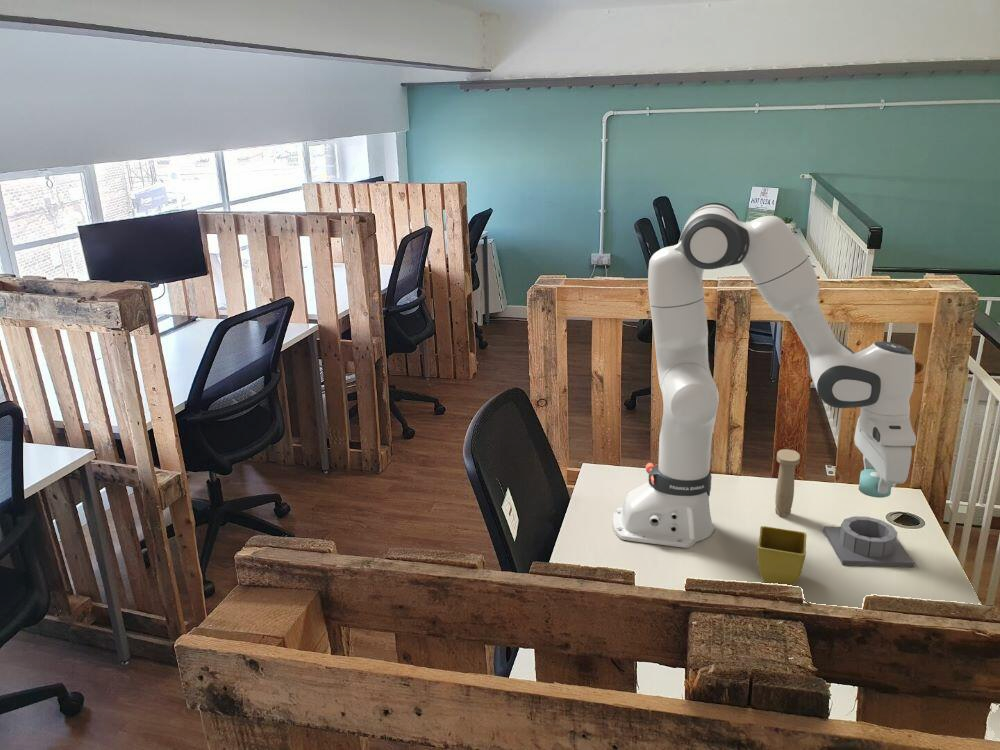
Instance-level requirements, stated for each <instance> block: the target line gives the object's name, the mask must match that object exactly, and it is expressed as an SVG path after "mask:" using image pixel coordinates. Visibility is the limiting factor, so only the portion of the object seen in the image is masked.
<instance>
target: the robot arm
mask: <svg viewBox="0 0 1000 750" xmlns="http://www.w3.org/2000/svg"><path fill="white" fill-rule="evenodd" d="M811 261H812V260H810V258H809V256H808V254H807V252H806V250H805V249H804V247H803V246H802V244H801V242H800V241H799V239H798V237H797V236H796V234H794V232H793V231H792V230H791V229H790V227H789V226H788V225H787V223H786V222H785V221H784V220H783V219H782V218H781V217H778V216H776V215H763V216H760V217H759V216H758V217H757V218H755V219H752V220H751V221H747V222H746V221H740V220H739V216H738V214H737V213H736V212H735V211H734V209H732V208H731V207H730V206H728V205H726V204H724V203H719V202H709V203H706V204H703V205H701V206H699V207H698V208H696V209H695V210H694V211H693V212H692V213H691V214H690V216H689V217H688V219H687V220H686V222H685V224H684V226H683V230H682V234H681V236H680V238H679V242H678V243H677V244H673V245H670V246H665V247H663V248H660V249H659V250H657V251H655V252H654V253H653V254H652V255H651V257H650V259H649V263H648V272H647V275H648V276H647V288H648V289H647V290H648V299H649V300H648V302H649V308H650V316H651V322H652V332H653V339H654V345H655V346H654V347H655V357H656V358H655V359H656V367H657V369H656V370H657V377H658V383H659V387H660V391H661V395H662V396H661V397H662V402H663V405H662V406H663V408H662V409H663V410H662V418H661V419H662V420H661V427H660V432H659V439H658V441H659V442H658V464H657V466H655V465H654V463H652V462H648V463H647V464H646V465H645V471H646V473H647V474H648V481H646V482H644V483H643V484H641V485H639V486H638V487H636V488H634V489H632V490H630V491H629V492H627V494H626V497H625V499H624V502H623V506H620V507H618V508H616V510H615V511H614V513H613V515H612V529H613V532H614V533H615V535H616V536H617V538H619V539H621V540H625V541H629V542H638V543H645V544H653V545H661V546H668V547H669V546H670V547H677V548H684V549H686V548H690V547H693V545H695V543H697V542H700V541H702V540H706V539H707V538H709V537H710V536H711V535H712V534H713V533H714V528H715V527H714V524H713V520H712V516H711V508H710V495H711V491H712V479H713V477H712V472H711V469H710V465H711V464H710V463H711V453H712V452H711V450H712V438H713V433H714V428H715V423H716V418H717V412H718V409H719V403H720V402H719V400H720V398H719V397H720V395H719V390H718V387H717V384H716V383H715V380H714V379H713V376H712V373H711V369H710V362H709V346H708V344H709V342H708V341H709V339H708V338H709V330H708V329H709V327H708V319H707V311H706V309H707V308H706V301H705V293H704V287H703V286H704V285H703V283H704V282H703V274H704V271H705V270H716V269H722V268H725V267H730V266H735V265H740V264H741V265H742V266H743V267H744V268H745V270H746V271H747V273H748V275H749V276H750V278H751V281H752V282H753V285H754V287H755V288H756V290H757V292H758V293H759V294H760V296H761V297H762V299H763V301H765V302H766V303H767V306H769V307H770V309H771V310H772V311H773V312H775V313H777V314H780V315H783V316H784V317H786V319H788V321H789V322H790V323H791V325H792V326H793V328H794V330H795V332H796V334H797V335H798V338H799V340H800V341H801V343H802V345H803V346H804V348H805V351H806V353H807V354H806V355H807V370H808V371H807V372H808V375H809V378H810V379H811V380H812V382H813V384H814V387H815V389H816V392H817V394H818V396H819V398H820V399H821V401H822V402H824V403H825V404H826V405H828V406H830V407H832V408H836V409H854V408H860V412H859V416H858V418H857V422H856V426H855V432H854V439H853V440H854V445H855V447H856V448H857V449H858V450H859V451H860V453H861V454H862V460H863V467H864V469H863V470H865V469H875V470H876V471H877V472H878V473H879V478H880V480H879V482H877V487H876V489H877V491H878V492H879V493H882V494H886V493H887V492H888V487H889V485H890V484H892V485H893V484H897V485H898V484H900V485H901V484H904V483H905V482H906V481H907V479H908V476H909V472H910V467H911V464H912V463H911V461H912V456H913V455H912V453H913V452H912V451H913V450H912V447H914V446H915V445H916V444H917V443H916V441H917V436H916V434H915V432H914V429H913V427H912V424H911V423H912V422H911V418H910V413H911V406H910V398H911V396H912V394H913V392H914V384H915V376H916V375H915V374H916V359H915V356H914V354H913V353H912V351H910V350H909V349H908V348H907V347H905V346H903V345H900V344H898V343H895V342H890V341H883V340H881V341H875V342H873V343H872V344H871V345H870V346H868V347H866V348H864V349H862V350H860V351H858V352H855V351H854V350H852V348H850V347H849V346H847V344H844V343H843V342H841V341H840V340H839V339H838V338H837V336H836V335H835V333H834V331H833V330H832V328H831V326H830V325H829V322H828V321H827V318H826V317H825V315H824V313H823V310H822V308H821V307H820V302H819V294H820V290H821V289H820V288H821V287H820V284H819V280H818V277H817V273H816V271H815V268H814V266H813V264H812V262H811Z"/></svg>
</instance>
